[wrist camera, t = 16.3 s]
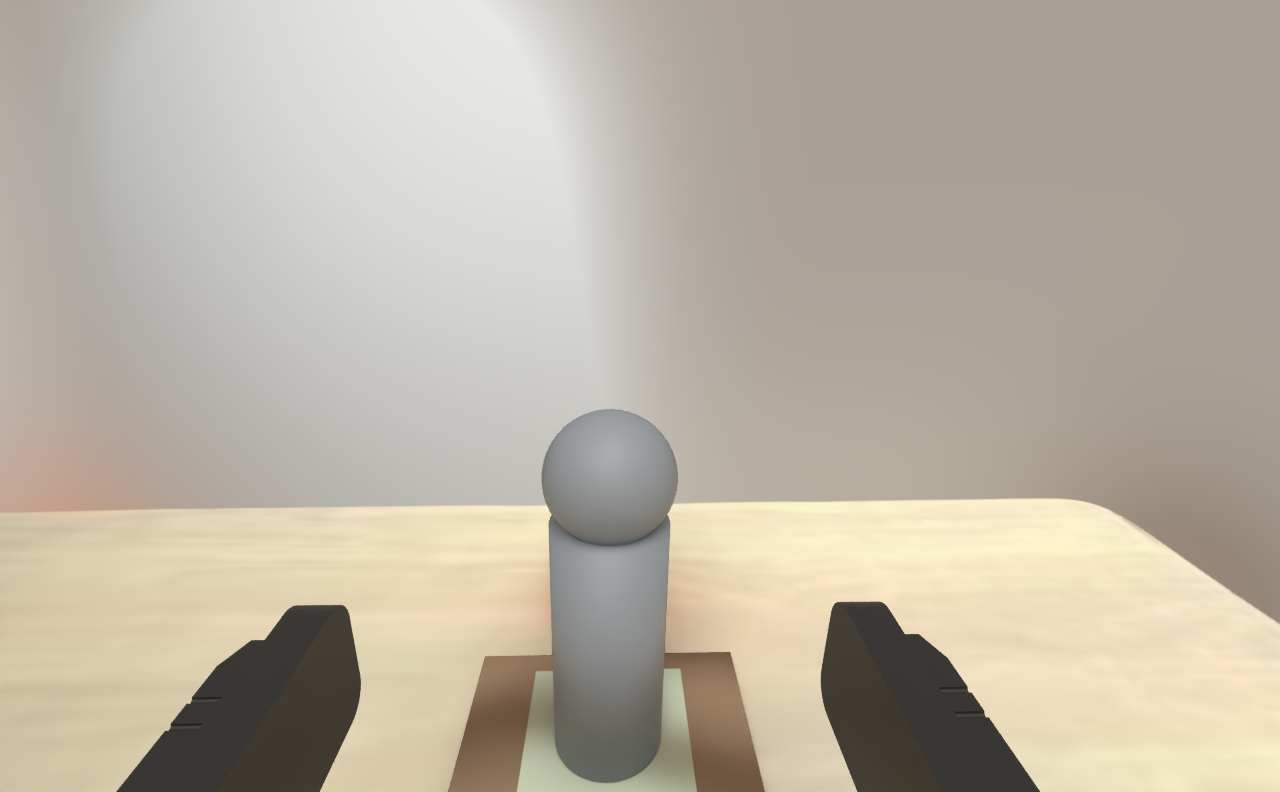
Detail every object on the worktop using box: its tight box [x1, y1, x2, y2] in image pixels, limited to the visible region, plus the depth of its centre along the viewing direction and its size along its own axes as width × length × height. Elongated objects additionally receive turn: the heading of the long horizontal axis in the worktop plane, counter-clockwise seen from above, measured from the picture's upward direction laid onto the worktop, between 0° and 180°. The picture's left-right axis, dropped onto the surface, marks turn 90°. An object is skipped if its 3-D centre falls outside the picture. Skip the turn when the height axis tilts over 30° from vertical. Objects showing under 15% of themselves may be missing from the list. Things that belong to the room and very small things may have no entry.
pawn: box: [542, 409, 678, 782], centre depth 23 cm, size 5×5×14 cm
